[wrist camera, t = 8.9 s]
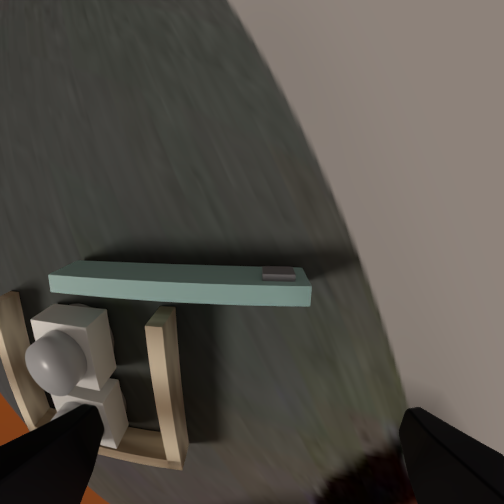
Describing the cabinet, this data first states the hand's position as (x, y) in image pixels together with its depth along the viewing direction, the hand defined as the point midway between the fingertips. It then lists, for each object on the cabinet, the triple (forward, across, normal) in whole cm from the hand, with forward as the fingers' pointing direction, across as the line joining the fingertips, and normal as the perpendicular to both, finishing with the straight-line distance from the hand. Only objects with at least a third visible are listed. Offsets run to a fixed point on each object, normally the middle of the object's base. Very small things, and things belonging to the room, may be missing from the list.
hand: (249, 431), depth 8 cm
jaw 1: (+11, +12, +4) cm, 17 cm away
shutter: (+12, +4, -1) cm, 12 cm away
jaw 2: (+11, +12, +9) cm, 19 cm away
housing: (+11, +12, +7) cm, 18 cm away
